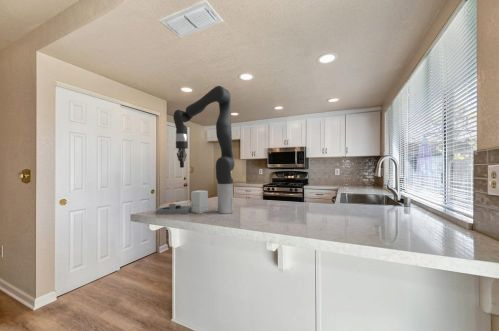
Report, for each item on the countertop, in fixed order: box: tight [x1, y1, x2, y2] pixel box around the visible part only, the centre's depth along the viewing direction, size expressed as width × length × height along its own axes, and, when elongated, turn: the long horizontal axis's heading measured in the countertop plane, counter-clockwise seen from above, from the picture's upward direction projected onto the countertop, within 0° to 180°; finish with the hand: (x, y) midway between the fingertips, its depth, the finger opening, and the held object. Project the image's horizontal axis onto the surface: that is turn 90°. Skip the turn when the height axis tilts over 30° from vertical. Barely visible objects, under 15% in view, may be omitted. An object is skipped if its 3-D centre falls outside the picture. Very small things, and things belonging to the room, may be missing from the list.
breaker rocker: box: [159, 199, 191, 208], centre depth 133 cm, size 16×8×1 cm, turn 89°
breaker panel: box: [155, 200, 191, 215], centre depth 133 cm, size 18×12×6 cm, turn 89°
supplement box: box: [190, 189, 209, 214], centre depth 132 cm, size 7×7×13 cm
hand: (181, 167), depth 143 cm, fingers closed
